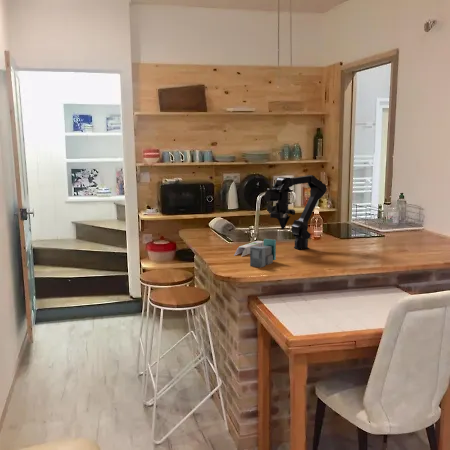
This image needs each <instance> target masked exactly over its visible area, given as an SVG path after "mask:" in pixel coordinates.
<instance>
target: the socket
mask: <svg viewBox="0 0 450 450" xmlns="http://www.w3.org/2000/svg"><path fill="white" fill-rule="evenodd" d="M249 258H250V259H249V265H250V267H255V268H264V267H266V265H265V247H258V246H253V247H250V254H249Z"/></svg>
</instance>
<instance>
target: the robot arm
mask: <svg viewBox="0 0 450 450" xmlns="http://www.w3.org/2000/svg"><path fill="white" fill-rule="evenodd" d="M303 184H307V186H308V187H309V188H310V191H309V193H310V196H309V198H308V200H307V203H306V204H305V207H304V209H303V210H302V212H301V215H300V217H299V218H298V219H297V220H296V219H294V221H293V222H292V225H291V233H292V235H293V237H294V239H295V240H294V246H293V248H294V249H296V250H299V251H300V250H308V249H309V250H310V247H309V245H308V244H309V239H311V236H312V235H311V233H310V232H309V231H308V229H309V220H310V219H311V216H312V215H313V212H314V209H315V208H316V206H317V204H318V202H319V200H320V199H321V198H322V197H324V195H325V194H326V193H327V190H328V189H327V185H326V184H325V183H323V181H322V180H320V179H319V178H317V177H316V176H315V175H314V174H313V175H312V174H307V175H303V176H302V175H301V176H294V177H285V176H278V177H277V179H276V181H275V183H274V184H273V186H272V188H267V189H266V191H265V193H264V200H265V202H275V205H273V206H272V204H270V205H267V207H266V211H267V212H268V214H269V217H270V218H271V219H273V218H274V219H277V220H278V222H279V227H280V228H281V230H285V228H286V226H287V224H288V221H289V220H290V218H291V215H292V216H295V215H296V210H295V209H292V208H289V205H290V204H291V203H290V201H289V193H291V192H292V191H293V190H292V189H291V188H292V187H293V186H295V185H303Z"/></svg>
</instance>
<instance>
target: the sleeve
mask: <svg viewBox="0 0 450 450" xmlns="http://www.w3.org/2000/svg"><path fill="white" fill-rule="evenodd" d="M262 247H265V266H268V265H272V264H273V263H274V262H273V261H274V260H273V255H271V253H272V246H262Z"/></svg>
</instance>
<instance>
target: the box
mask: <svg viewBox="0 0 450 450" xmlns="http://www.w3.org/2000/svg"><path fill="white" fill-rule="evenodd" d="M253 246H258V247H262V246H264V240H263V241H262V240H255V241H252V242H250V243H246V244H244V245H240V246H238V247H237V249H236V250H235V253H234V254H233V256H234V257H235V256H238V255H240V254H241V256H240V258H241V257H244V256H247V255H250V247H253Z"/></svg>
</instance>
